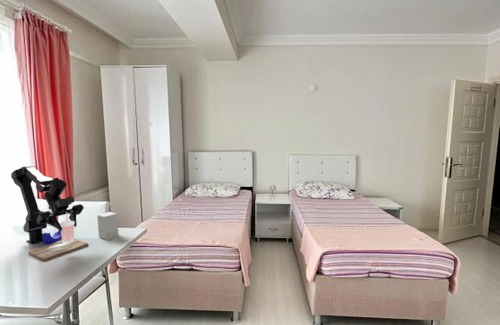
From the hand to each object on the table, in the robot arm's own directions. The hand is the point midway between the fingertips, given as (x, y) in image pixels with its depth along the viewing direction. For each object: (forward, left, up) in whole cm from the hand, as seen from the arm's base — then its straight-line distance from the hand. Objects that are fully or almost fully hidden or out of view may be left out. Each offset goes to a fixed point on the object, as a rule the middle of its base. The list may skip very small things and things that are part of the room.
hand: (68, 228), depth 133 cm
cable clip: (-26, +5, -13) cm, 29 cm away
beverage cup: (-2, 0, -7) cm, 7 cm away
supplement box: (-6, +23, -13) cm, 27 cm away
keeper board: (-10, 0, -13) cm, 16 cm away
